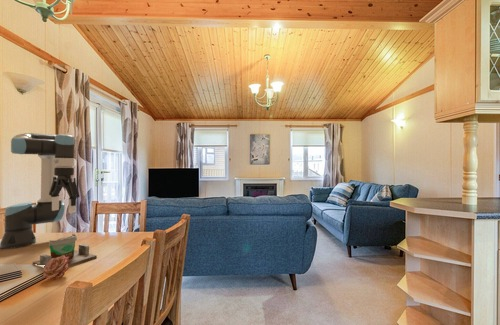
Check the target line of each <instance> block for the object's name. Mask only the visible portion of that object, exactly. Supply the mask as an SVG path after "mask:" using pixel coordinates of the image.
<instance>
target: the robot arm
mask: <svg viewBox="0 0 500 325" xmlns="http://www.w3.org/2000/svg"><path fill="white" fill-rule="evenodd" d="M75 144H76V141H75V137H74V135H72V134H71V135H70V134H49V133H48V134H47V133H33V132H26V133H19V134H16V135H14V136H13V137H12V138H11V140H10V152H11V154H13V155H14V154H16V155H37V156H38V157H39V158H40V159H41V161H40V163H41V164H40V168H41V170H40V171H41V172H40V173H41V174H40V198H39V200H37V201H36V202H37V204H34V203H33V202H29V201H28V202H21V203H17V204H12V205H9V206H7V207H6V208H5V210H4V233H3V236H2V238H1V240H0V249H4V250H5V249H7V250H8V249H17V248H22V247H29V246H31V245H34V244H36V242H37V238H36V236H35V233H34V230H33V225H39V224H41V225H42V224H46V223H55V222H60V221H61V220H62V219H63V217H64V214H65V209H66V207H65V206H66V205H65V202H63V201H62V199H61V198H60V193H61V190H62V189H63V188H64V189H65V190H66V193H67V194H68V214H73V213H76V211H77V210H76V209H77V208H76V207H77V206H76V205H77V199H78V198H80V193H79V189H78V185H77V180H76V177H72V176H74V174H75V173H74V172H75V168H74V166H75Z"/></svg>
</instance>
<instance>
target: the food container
mask: <svg viewBox="0 0 500 325" xmlns="http://www.w3.org/2000/svg"><path fill="white" fill-rule="evenodd" d="M76 241H78V238H77V235H76V234H75V233H72V234H71V236H67V237H61V238H59V239H56V240H52V239H51V240H49V241H48V246H49V250H50V256H51V259H52V258H57V257H61V256H63V255H64V256H65V257H69V259H71V258H73V257H74V250H75V247H76Z"/></svg>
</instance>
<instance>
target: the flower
mask: <svg viewBox="0 0 500 325" xmlns="http://www.w3.org/2000/svg"><path fill="white" fill-rule="evenodd" d="M68 260H69V257H65V256H64V255H63V256H61V257H57V258H52V259H51V260H50V261H49V262H48V263H47V264H46V265H45V266H44V268H42V269H43V274H42V275H43V278H46V279H52V278H53V281H56V280H57V279H58V278H60V277H61V276H62V275H65V272H67V271H68V270H69V269H70V267H68Z"/></svg>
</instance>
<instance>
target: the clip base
mask: <svg viewBox="0 0 500 325" xmlns="http://www.w3.org/2000/svg"><path fill="white" fill-rule="evenodd" d="M97 256H98V255H96V254H92V253H90V245H88V244H84V243H83V244H82V243H80V244H78V250H75V249H74V257H73V258H71V259H69V260H68V268H70V267H73V266H77V265H80V264H83V263H86V262H90V261H92V260H95V259H97ZM50 260H51V255H48V254H44V253H43V254H39V259H38V260H35V261H32V265H33V264H37V265H46V264H47V263H48V262H49V261H50Z"/></svg>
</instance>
